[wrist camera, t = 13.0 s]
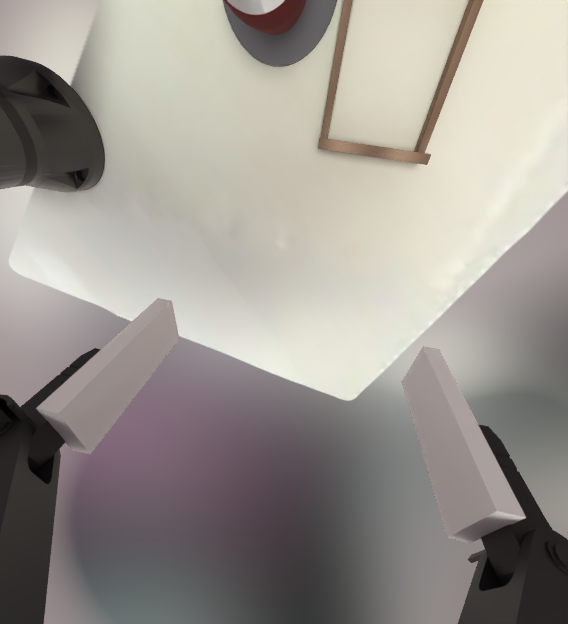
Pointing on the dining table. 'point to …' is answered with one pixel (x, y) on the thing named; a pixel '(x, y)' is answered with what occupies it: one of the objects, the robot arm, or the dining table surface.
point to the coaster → (286, 34)
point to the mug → (268, 14)
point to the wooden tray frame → (436, 105)
